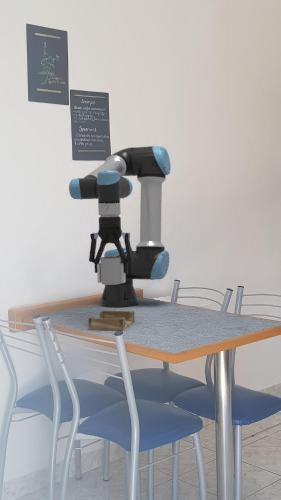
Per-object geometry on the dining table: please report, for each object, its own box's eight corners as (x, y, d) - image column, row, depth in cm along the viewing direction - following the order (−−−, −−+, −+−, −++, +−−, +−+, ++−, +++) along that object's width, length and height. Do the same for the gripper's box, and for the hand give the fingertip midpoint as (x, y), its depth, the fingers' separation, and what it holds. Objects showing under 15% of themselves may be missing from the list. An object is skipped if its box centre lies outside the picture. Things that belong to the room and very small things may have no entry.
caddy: (102, 321, 233) (102, 310, 232) (134, 321, 230) (134, 311, 229) (88, 329, 218) (88, 318, 218) (122, 330, 215) (122, 319, 215)
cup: (106, 285, 217) (105, 259, 216) (94, 282, 226) (93, 256, 225) (125, 283, 220) (124, 257, 219) (113, 280, 229) (112, 255, 228)
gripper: (77, 217, 220) (79, 283, 222) (136, 215, 215) (137, 284, 217) (84, 216, 227) (86, 280, 229) (141, 215, 222) (143, 281, 224)
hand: (111, 282), depth 223 cm, fingers closed on cup, 8 cm apart
